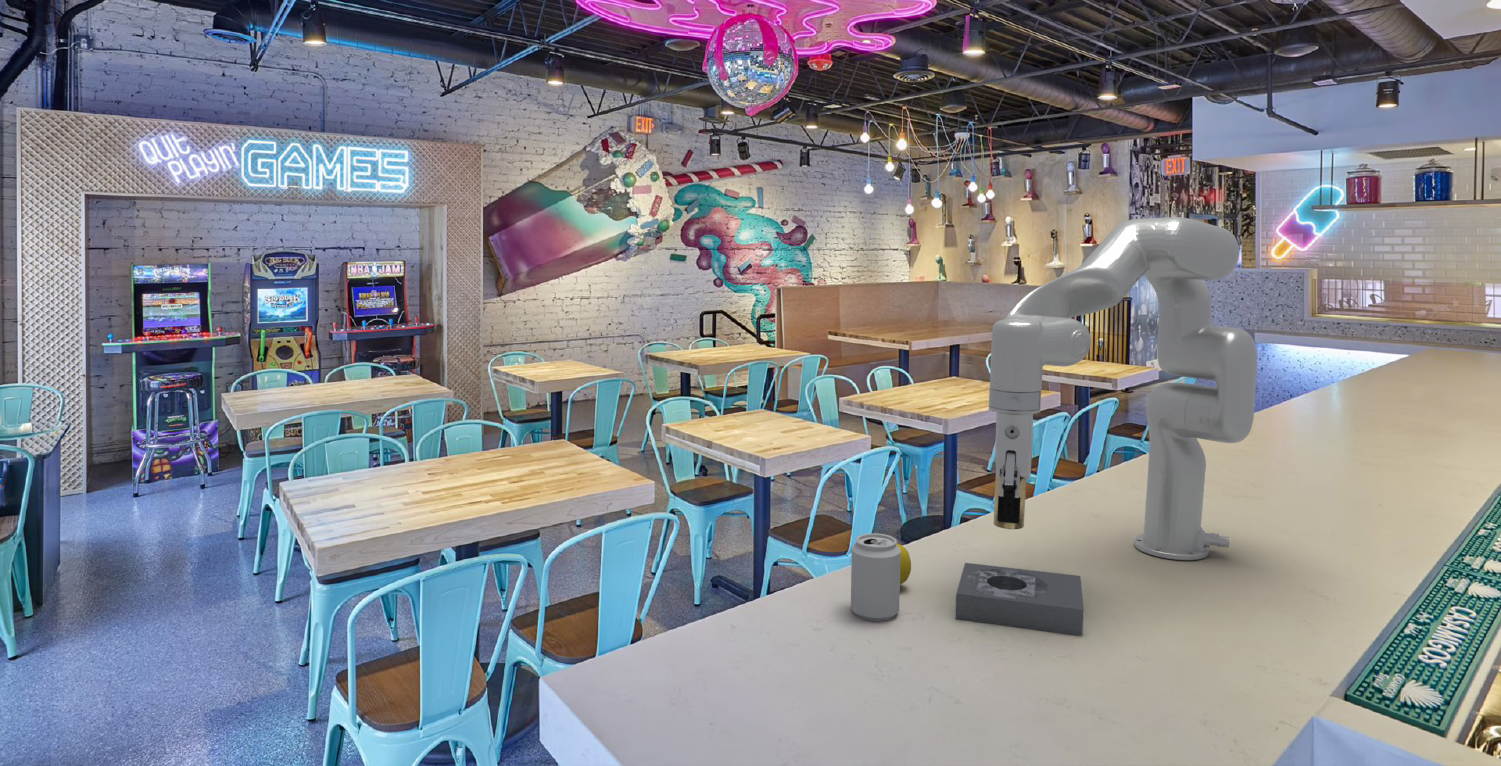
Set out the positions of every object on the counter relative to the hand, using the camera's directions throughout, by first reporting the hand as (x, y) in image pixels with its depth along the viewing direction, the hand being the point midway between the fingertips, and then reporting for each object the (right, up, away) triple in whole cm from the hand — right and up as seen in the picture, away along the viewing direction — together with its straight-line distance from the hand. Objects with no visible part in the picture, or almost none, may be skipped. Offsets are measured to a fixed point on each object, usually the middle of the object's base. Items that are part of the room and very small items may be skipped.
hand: (1009, 516), depth 130 cm
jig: (+2, -15, +2) cm, 15 cm away
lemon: (-16, -14, +10) cm, 24 cm away
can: (-21, -15, 0) cm, 26 cm away
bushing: (0, -1, 0) cm, 1 cm away
